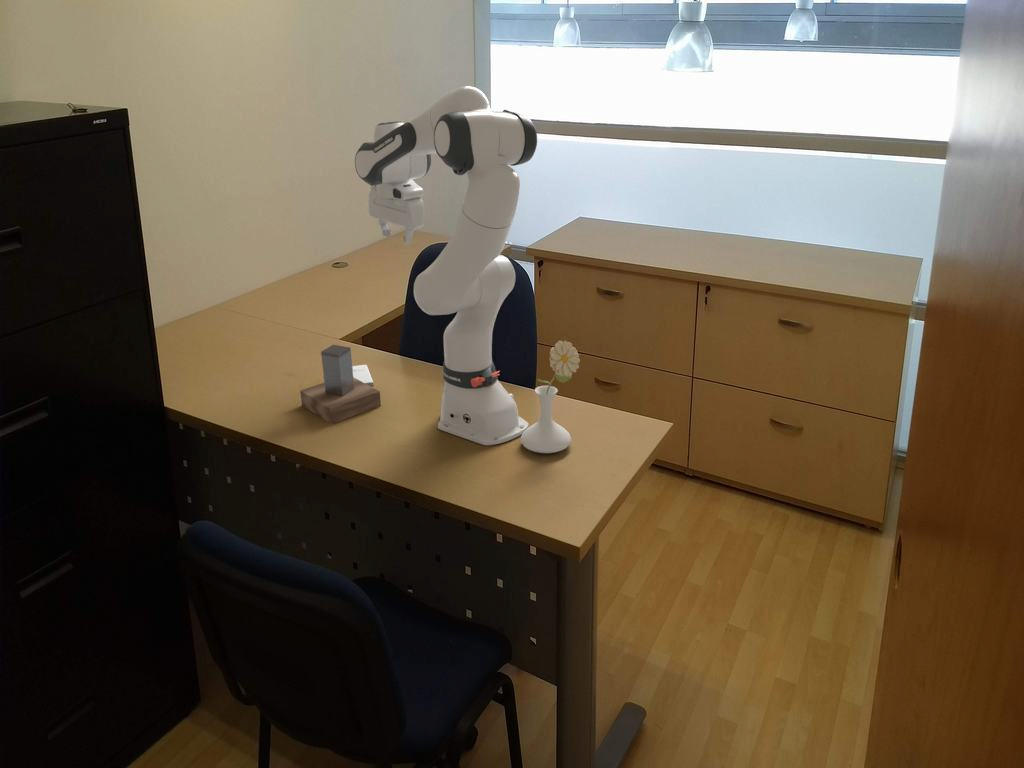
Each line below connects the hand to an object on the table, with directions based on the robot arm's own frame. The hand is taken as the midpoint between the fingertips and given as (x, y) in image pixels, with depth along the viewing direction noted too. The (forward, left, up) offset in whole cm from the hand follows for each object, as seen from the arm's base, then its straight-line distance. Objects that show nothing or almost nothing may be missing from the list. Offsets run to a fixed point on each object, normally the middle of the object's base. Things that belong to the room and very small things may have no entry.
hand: (397, 239), depth 226 cm
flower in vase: (-63, +6, -34) cm, 72 cm away
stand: (-13, +29, -34) cm, 47 cm away
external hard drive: (-1, +17, -35) cm, 39 cm away
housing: (-13, +29, -30) cm, 44 cm away
